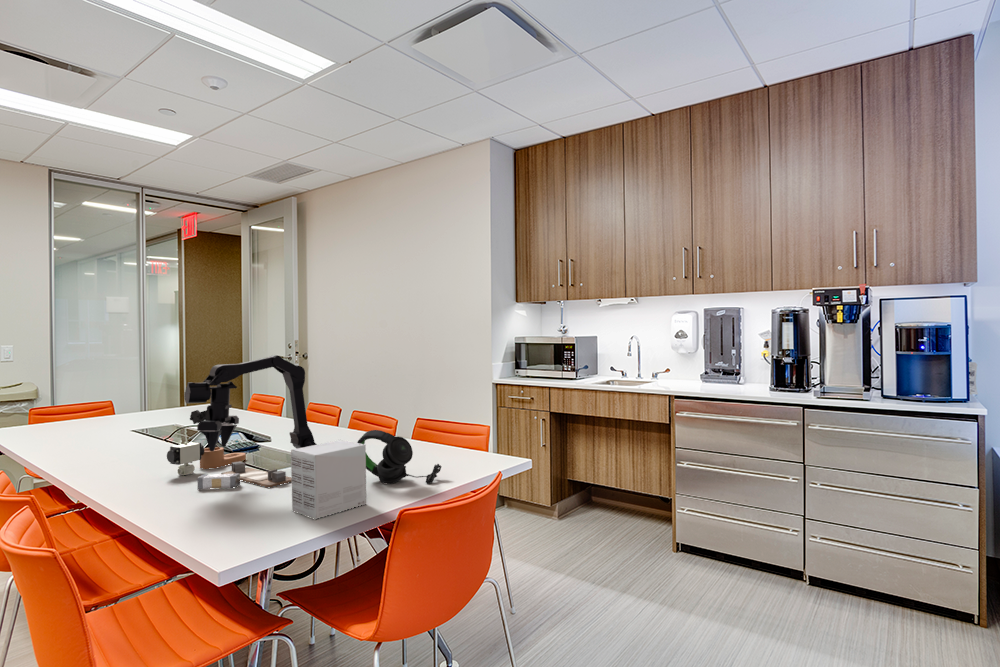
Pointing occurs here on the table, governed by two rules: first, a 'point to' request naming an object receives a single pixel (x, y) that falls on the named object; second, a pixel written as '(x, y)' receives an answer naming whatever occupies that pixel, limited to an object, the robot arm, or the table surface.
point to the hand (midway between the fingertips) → (218, 448)
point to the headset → (393, 458)
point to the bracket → (219, 458)
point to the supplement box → (328, 478)
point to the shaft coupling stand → (259, 475)
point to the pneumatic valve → (185, 456)
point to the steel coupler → (218, 481)
